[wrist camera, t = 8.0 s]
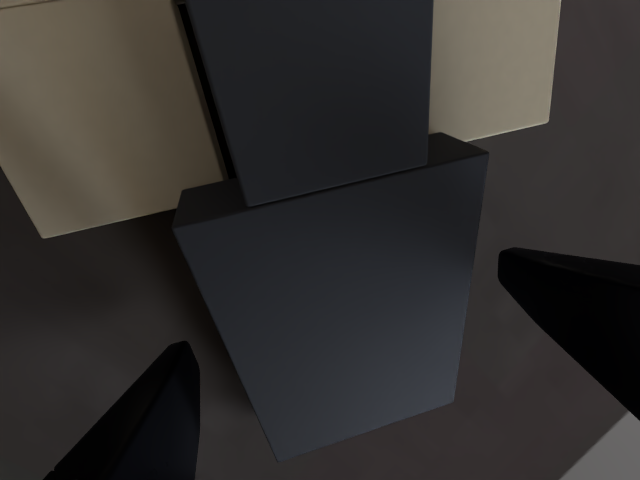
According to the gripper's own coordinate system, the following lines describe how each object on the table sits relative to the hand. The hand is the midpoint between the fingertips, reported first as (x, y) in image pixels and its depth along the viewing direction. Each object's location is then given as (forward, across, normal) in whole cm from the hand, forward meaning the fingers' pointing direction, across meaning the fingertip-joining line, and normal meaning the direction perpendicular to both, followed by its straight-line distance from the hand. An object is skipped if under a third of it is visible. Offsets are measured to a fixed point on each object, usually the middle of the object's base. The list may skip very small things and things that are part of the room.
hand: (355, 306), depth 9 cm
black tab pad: (+2, 0, -1) cm, 2 cm away
